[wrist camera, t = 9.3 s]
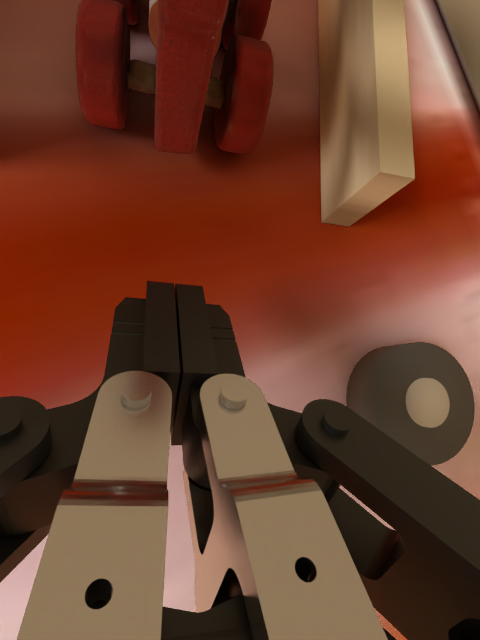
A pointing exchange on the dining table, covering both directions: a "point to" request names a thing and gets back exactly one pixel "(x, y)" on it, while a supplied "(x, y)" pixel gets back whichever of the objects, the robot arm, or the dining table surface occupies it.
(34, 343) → the dining table surface
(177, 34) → the toy fire truck
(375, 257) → the dining table surface
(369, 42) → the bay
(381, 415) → the spare wheel
